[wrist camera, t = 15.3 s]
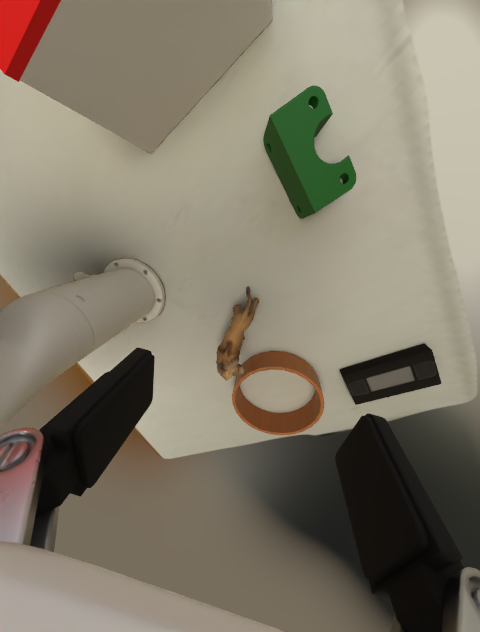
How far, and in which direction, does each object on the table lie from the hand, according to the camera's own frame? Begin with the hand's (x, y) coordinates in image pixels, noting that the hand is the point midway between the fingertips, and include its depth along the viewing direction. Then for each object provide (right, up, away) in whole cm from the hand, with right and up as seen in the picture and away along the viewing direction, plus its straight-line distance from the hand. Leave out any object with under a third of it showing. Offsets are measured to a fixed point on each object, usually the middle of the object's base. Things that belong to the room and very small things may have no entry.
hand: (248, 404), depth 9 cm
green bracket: (+9, +24, +19) cm, 32 cm away
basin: (+7, -11, +35) cm, 37 cm away
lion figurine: (0, +2, +31) cm, 31 cm away
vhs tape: (+27, -7, +30) cm, 41 cm away
